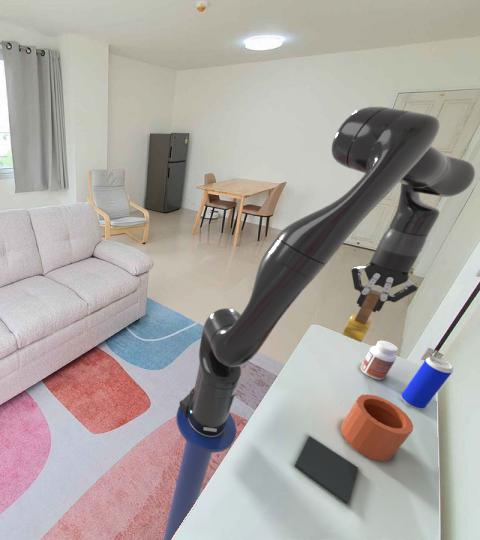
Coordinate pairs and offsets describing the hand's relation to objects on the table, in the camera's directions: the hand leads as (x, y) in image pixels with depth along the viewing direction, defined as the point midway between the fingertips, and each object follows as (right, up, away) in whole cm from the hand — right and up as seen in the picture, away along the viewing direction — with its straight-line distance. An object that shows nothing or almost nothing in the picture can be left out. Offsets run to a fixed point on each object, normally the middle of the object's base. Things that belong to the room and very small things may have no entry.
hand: (367, 308), depth 78 cm
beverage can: (+17, -27, +5) cm, 33 cm away
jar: (-5, -32, -6) cm, 33 cm away
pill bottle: (+14, -22, +15) cm, 30 cm away
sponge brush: (0, -8, +4) cm, 9 cm away
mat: (-19, -34, -12) cm, 41 cm away
